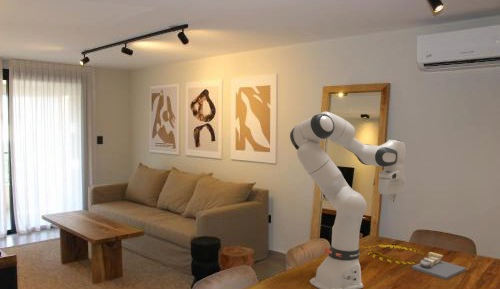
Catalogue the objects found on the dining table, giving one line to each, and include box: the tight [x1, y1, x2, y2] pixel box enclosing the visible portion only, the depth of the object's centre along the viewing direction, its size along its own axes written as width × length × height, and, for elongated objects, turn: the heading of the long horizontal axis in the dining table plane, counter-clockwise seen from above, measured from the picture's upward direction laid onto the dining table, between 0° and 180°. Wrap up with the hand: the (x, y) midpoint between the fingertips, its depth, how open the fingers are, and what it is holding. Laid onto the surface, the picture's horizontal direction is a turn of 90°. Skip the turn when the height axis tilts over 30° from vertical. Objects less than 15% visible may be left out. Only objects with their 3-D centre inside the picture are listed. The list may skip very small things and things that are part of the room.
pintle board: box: [410, 251, 467, 281], centre depth 180 cm, size 20×16×5 cm
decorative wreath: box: [361, 242, 426, 265], centre depth 204 cm, size 35×2×30 cm
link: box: [419, 256, 442, 268], centre depth 183 cm, size 15×5×2 cm, turn 132°
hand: (391, 202), depth 184 cm, fingers closed
